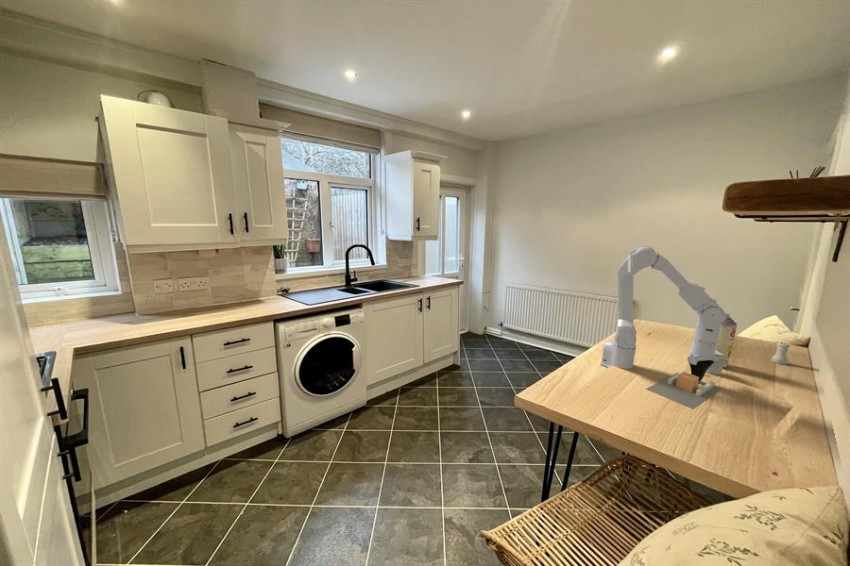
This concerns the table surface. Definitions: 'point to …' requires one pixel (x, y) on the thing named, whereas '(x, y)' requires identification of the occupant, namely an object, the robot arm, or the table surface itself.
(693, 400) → the channel
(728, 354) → the aerosol can
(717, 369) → the medicine box
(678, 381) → the block
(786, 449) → the table surface
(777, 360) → the rook chess piece
